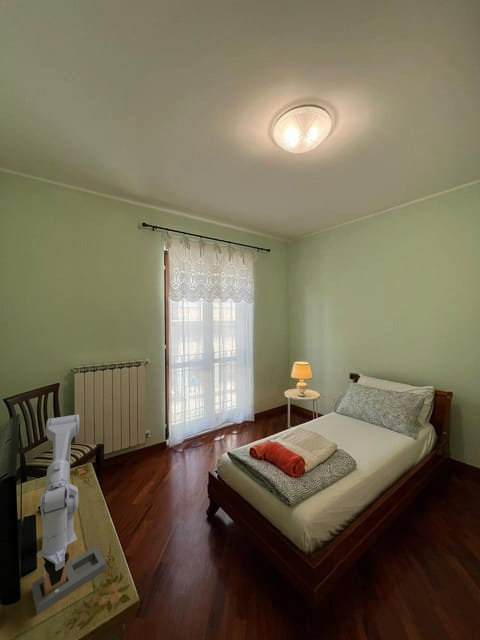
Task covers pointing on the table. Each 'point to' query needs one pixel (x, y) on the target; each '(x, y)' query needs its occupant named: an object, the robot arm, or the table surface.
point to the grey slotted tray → (70, 579)
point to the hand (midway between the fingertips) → (54, 577)
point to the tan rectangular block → (49, 588)
